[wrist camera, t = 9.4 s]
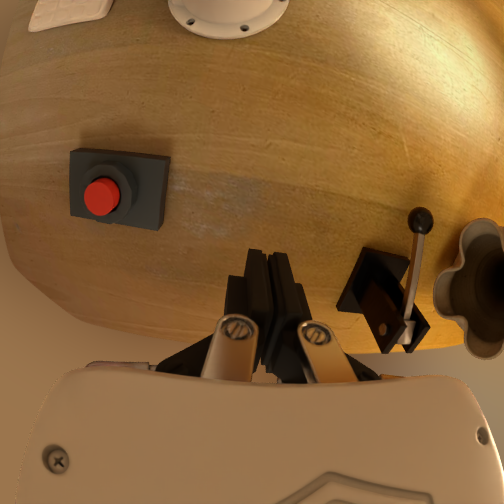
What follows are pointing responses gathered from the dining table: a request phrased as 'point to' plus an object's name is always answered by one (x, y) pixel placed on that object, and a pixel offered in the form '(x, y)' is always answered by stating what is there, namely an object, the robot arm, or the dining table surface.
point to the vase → (476, 288)
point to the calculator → (66, 12)
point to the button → (102, 196)
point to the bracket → (381, 298)
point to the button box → (121, 185)
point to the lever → (414, 266)
